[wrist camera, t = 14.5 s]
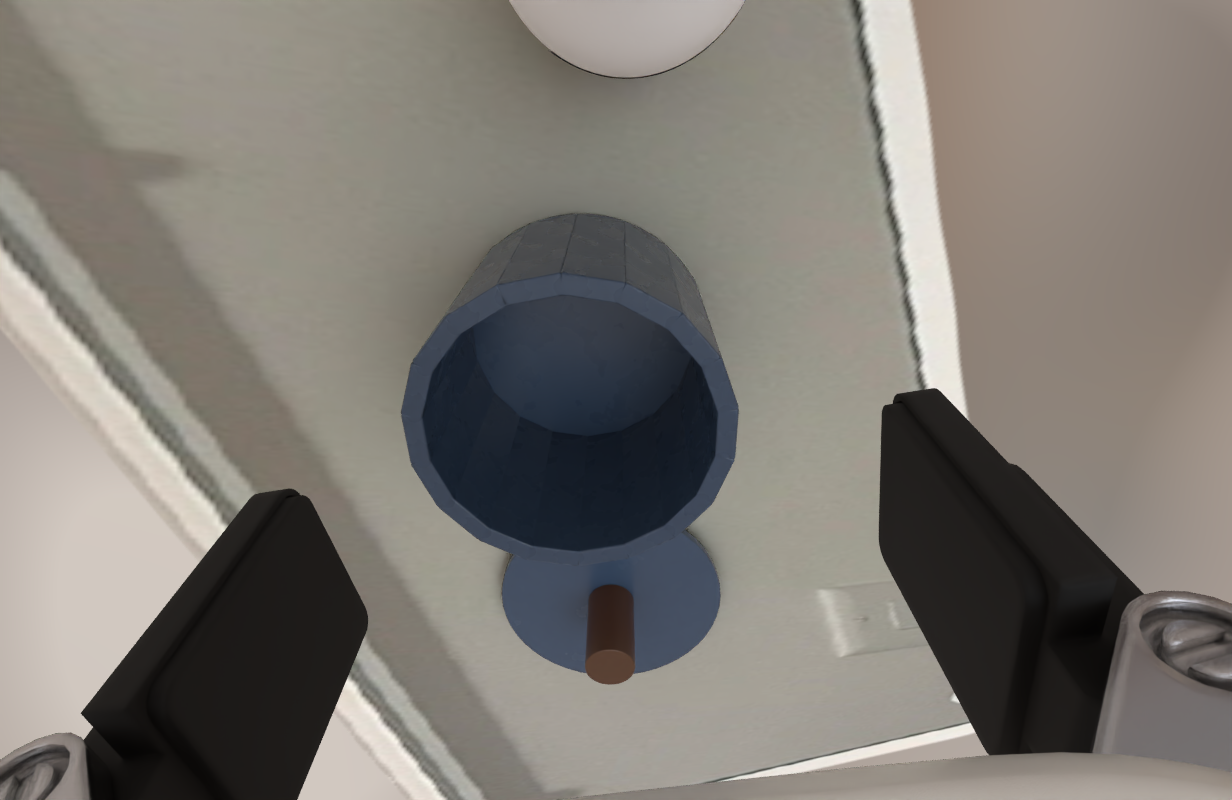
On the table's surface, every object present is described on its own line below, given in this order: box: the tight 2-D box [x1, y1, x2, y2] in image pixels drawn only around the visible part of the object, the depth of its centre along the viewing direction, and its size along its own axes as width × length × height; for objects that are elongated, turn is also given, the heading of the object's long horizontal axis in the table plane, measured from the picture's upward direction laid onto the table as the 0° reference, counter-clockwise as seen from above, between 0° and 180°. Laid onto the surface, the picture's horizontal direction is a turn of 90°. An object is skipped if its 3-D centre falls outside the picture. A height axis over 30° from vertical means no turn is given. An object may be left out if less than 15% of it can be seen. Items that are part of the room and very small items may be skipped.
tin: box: [401, 214, 739, 566], centre depth 29 cm, size 13×13×10 cm
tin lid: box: [502, 530, 720, 684], centre depth 39 cm, size 14×14×6 cm
